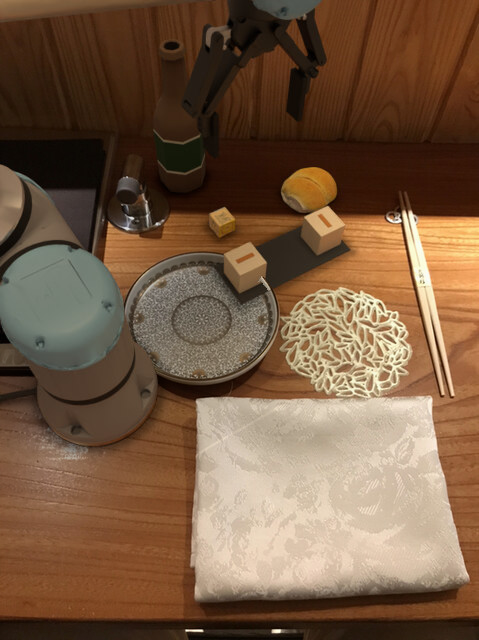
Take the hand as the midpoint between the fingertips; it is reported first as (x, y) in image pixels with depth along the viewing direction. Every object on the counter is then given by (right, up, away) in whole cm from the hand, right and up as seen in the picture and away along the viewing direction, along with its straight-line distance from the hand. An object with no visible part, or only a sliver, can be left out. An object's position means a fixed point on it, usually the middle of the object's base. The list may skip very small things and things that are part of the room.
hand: (253, 133), depth 76 cm
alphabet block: (-5, -11, +14) cm, 18 cm away
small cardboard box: (-1, -19, +8) cm, 20 cm away
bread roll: (+9, -5, +18) cm, 21 cm away
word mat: (+5, -16, +11) cm, 20 cm away
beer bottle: (-11, -1, +20) cm, 23 cm away
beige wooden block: (+11, -13, +12) cm, 21 cm away
